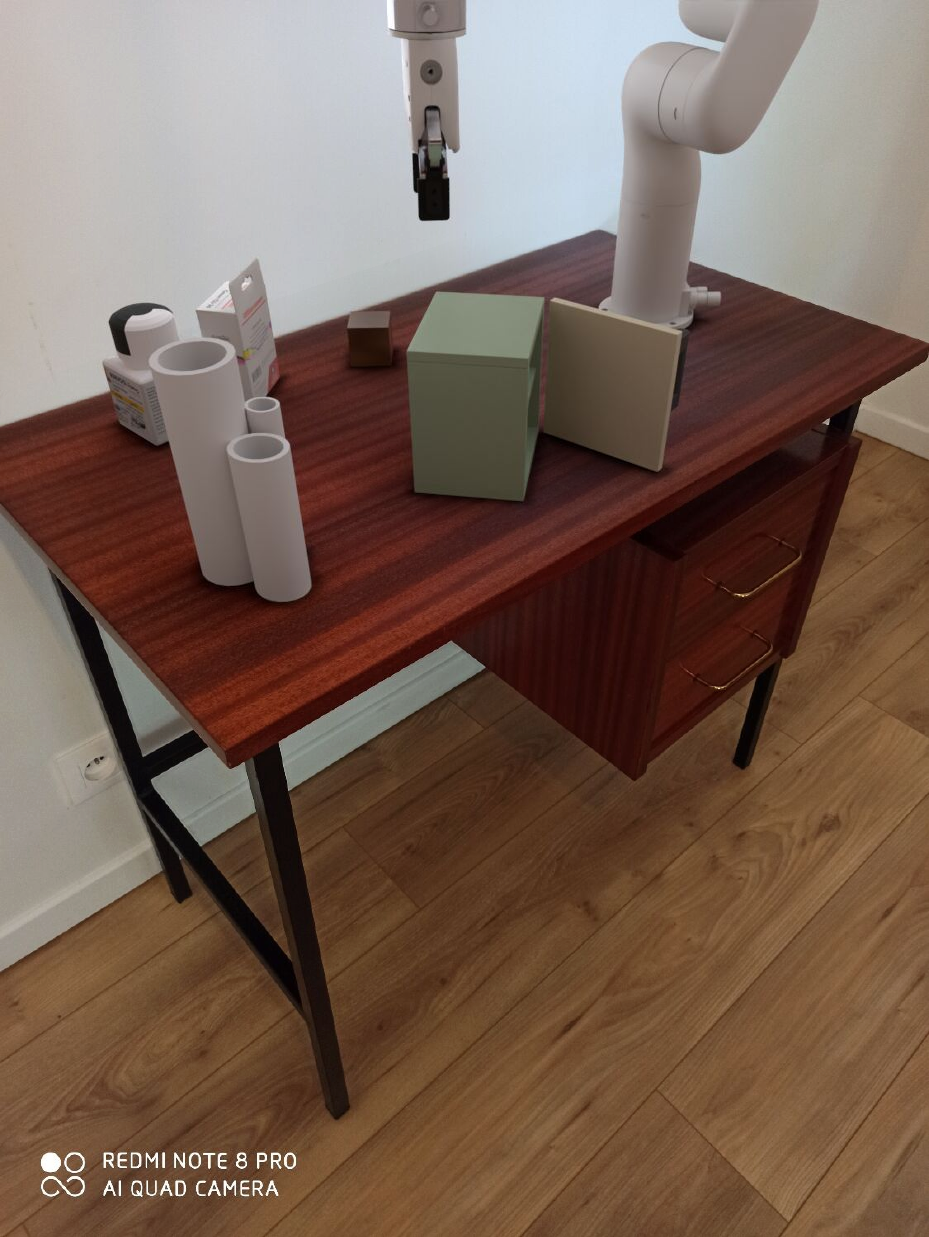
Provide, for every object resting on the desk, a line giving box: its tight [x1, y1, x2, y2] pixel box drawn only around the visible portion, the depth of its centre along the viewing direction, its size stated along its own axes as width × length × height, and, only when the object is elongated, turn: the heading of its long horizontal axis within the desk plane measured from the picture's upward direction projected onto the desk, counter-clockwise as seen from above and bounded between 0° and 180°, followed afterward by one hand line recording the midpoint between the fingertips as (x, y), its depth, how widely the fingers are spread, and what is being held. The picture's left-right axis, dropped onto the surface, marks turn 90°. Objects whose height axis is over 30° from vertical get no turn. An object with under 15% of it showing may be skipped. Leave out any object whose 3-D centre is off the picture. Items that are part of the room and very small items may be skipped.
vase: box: [149, 337, 312, 603], centre depth 76 cm, size 11×7×20 cm, turn 67°
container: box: [101, 302, 180, 446], centre depth 98 cm, size 8×8×13 cm
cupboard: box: [406, 291, 546, 502], centre depth 91 cm, size 11×14×15 cm
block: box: [346, 310, 394, 368], centre depth 113 cm, size 5×5×5 cm
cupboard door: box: [542, 297, 691, 473], centre depth 94 cm, size 7×14×15 cm, turn 53°
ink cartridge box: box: [195, 257, 281, 402], centre depth 103 cm, size 9×5×15 cm, turn 168°
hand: (430, 205), depth 98 cm, fingers open, 9 cm apart
